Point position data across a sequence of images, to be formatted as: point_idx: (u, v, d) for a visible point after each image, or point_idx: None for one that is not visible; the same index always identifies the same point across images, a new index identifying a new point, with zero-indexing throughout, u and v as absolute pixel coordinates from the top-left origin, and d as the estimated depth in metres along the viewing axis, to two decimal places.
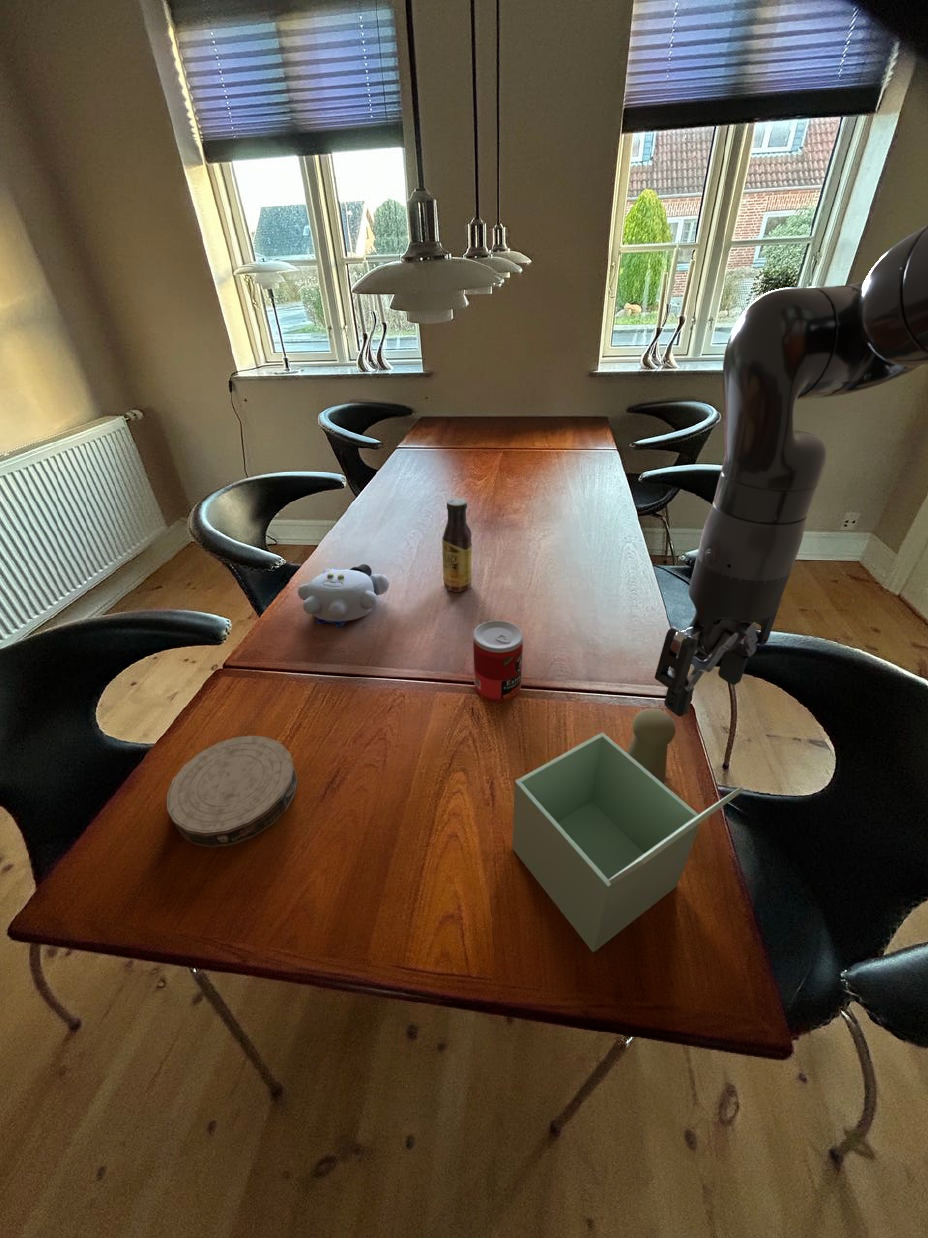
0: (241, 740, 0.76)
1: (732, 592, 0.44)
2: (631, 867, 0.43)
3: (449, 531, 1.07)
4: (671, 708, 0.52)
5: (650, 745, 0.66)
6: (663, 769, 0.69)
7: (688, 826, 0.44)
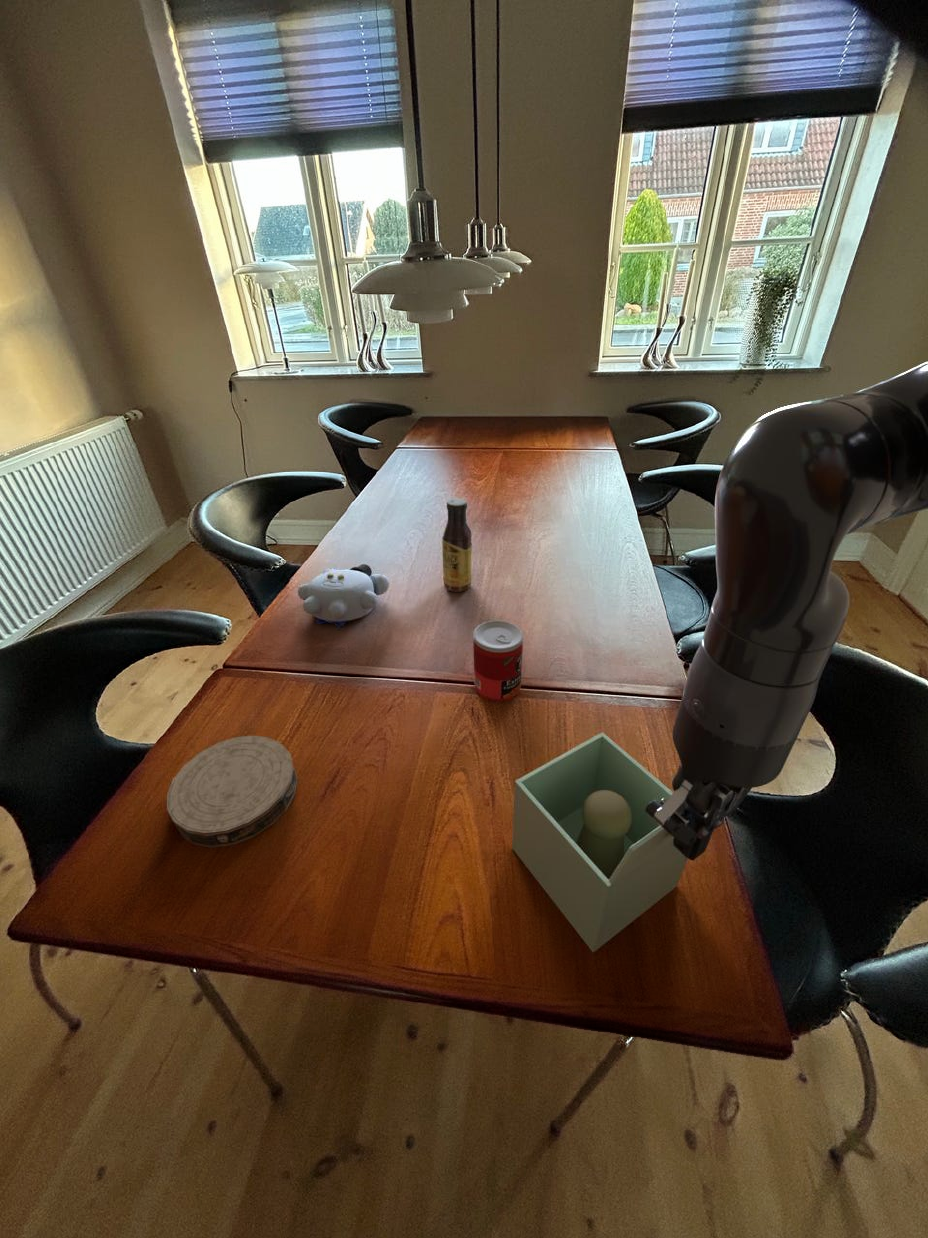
0: (241, 740, 0.76)
1: (726, 756, 0.35)
2: (624, 858, 0.44)
3: (449, 531, 1.07)
4: (681, 851, 0.45)
5: (598, 837, 0.55)
6: (618, 863, 0.58)
7: None
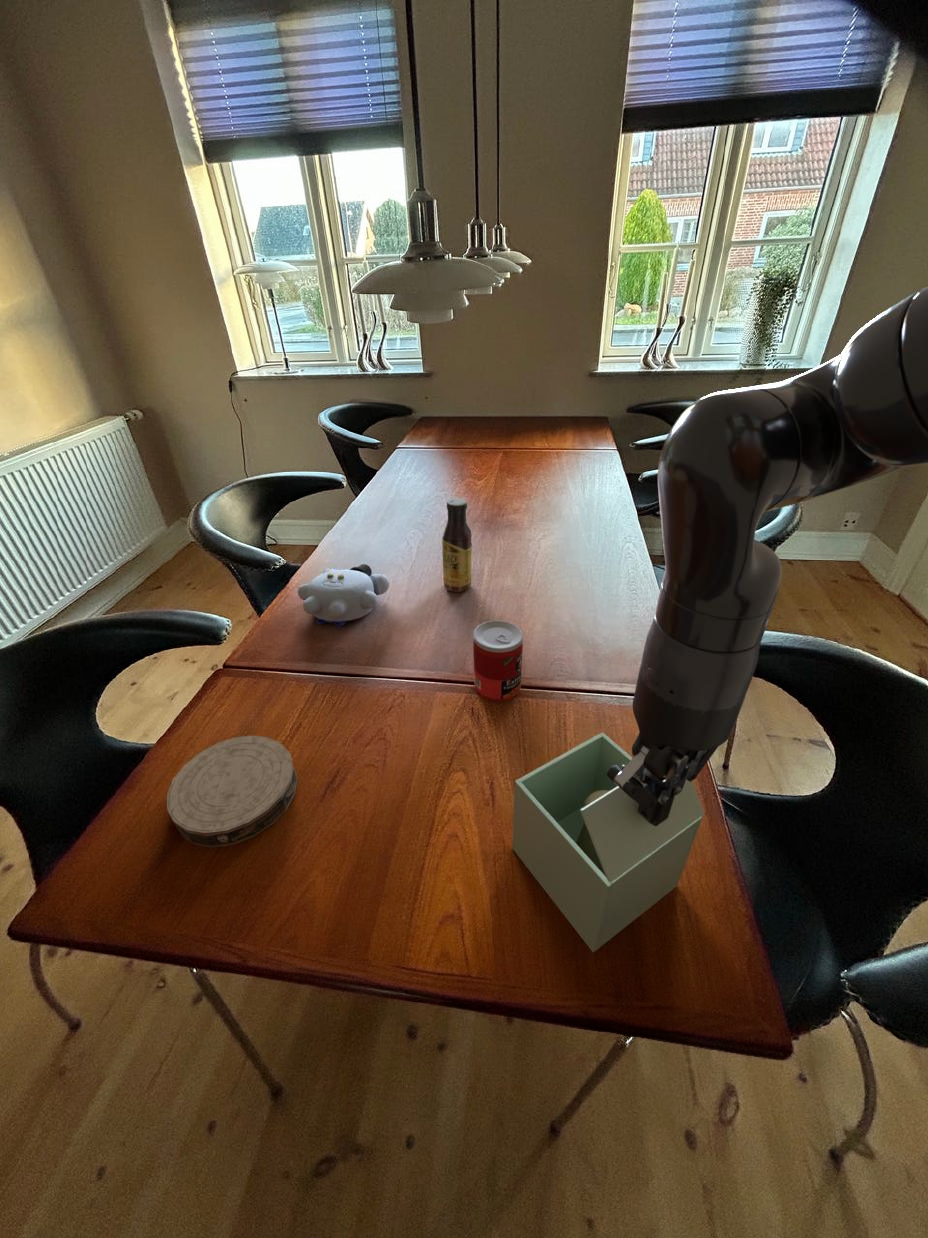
0: (241, 740, 0.76)
1: (676, 720, 0.38)
2: (588, 829, 0.47)
3: (449, 531, 1.07)
4: (645, 817, 0.48)
5: None
6: None
7: None
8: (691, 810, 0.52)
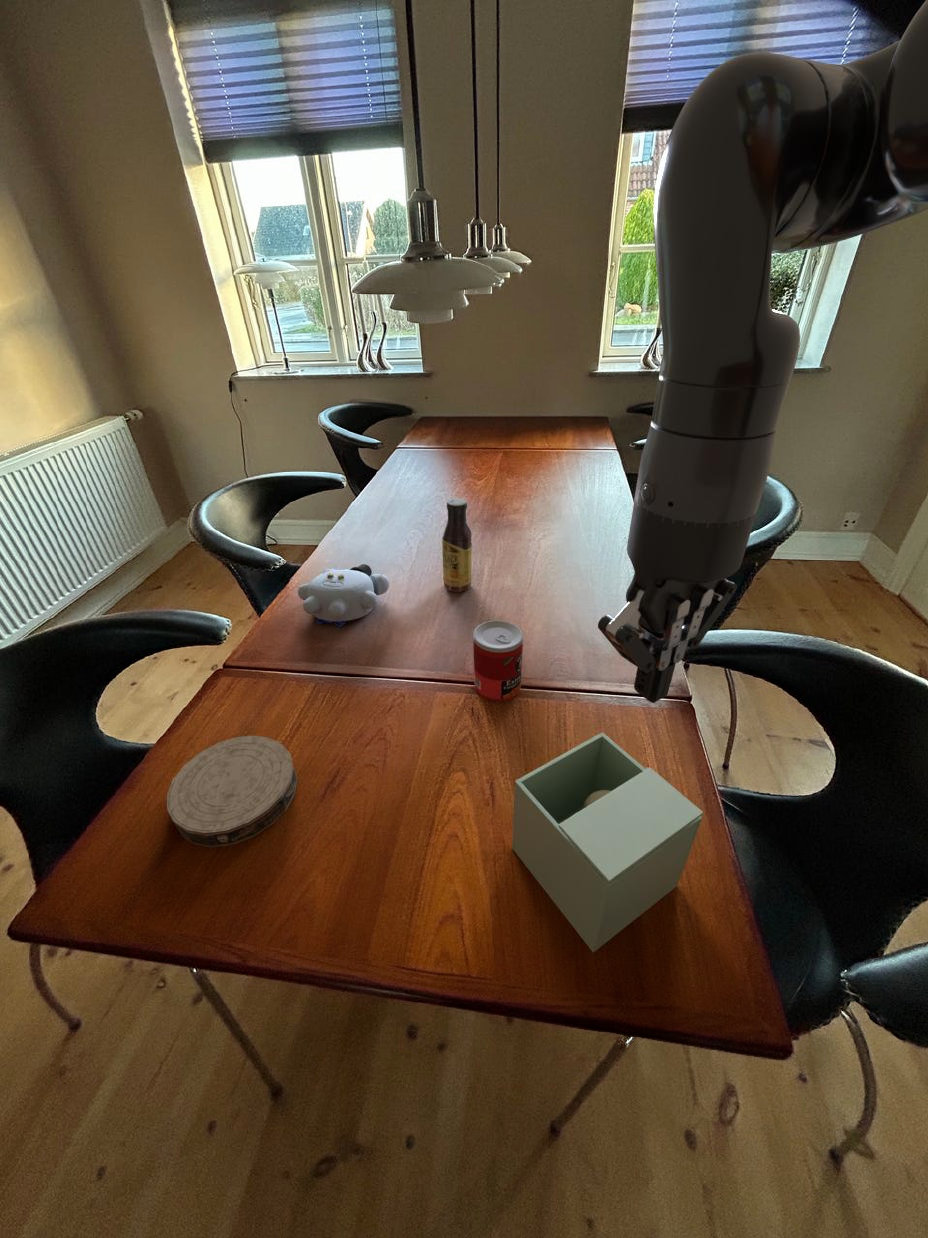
0: (241, 740, 0.76)
1: (676, 541, 0.33)
2: (571, 840, 0.51)
3: (449, 531, 1.07)
4: (642, 692, 0.43)
5: None
6: None
7: None
8: (684, 811, 0.53)
